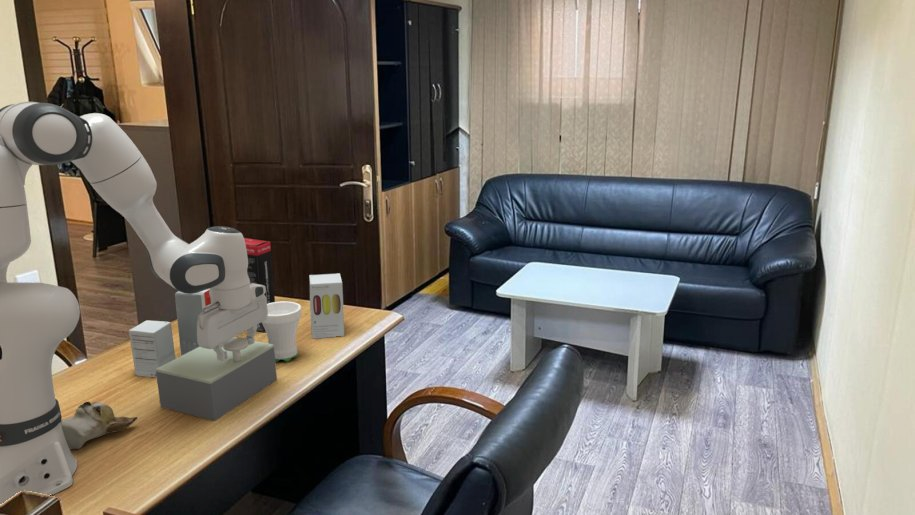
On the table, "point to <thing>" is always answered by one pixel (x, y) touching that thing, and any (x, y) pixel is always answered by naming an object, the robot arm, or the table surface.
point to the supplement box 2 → (326, 305)
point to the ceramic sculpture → (92, 423)
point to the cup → (283, 328)
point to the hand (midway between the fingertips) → (236, 351)
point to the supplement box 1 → (151, 346)
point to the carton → (217, 388)
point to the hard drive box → (190, 317)
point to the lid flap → (214, 360)
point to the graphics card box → (260, 268)
